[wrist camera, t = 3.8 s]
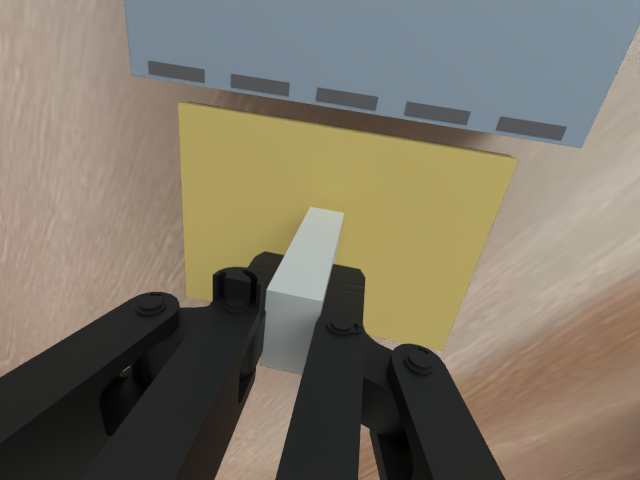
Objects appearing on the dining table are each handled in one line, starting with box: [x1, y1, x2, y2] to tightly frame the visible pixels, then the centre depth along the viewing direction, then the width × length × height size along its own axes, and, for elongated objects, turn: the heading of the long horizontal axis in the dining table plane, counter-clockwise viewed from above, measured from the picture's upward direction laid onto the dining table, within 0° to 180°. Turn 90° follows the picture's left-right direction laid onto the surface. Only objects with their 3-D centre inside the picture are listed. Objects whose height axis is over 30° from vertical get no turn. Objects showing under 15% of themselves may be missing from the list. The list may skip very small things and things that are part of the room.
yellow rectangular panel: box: [178, 102, 518, 351], centre depth 16 cm, size 10×14×1 cm
